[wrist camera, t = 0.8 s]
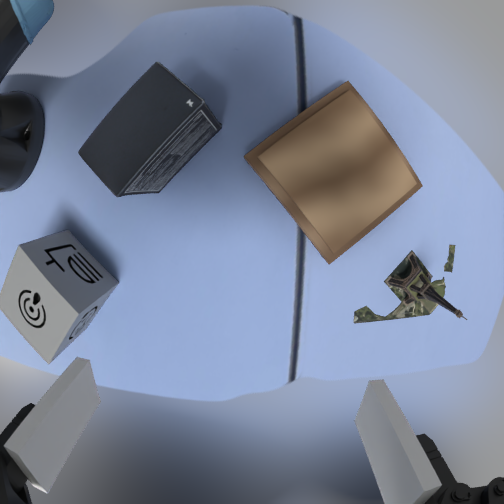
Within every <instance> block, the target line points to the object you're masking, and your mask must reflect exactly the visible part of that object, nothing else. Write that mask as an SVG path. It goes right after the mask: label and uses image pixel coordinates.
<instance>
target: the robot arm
mask: <svg viewBox="0 0 504 504" xmlns="http://www.w3.org/2000/svg"><path fill="white" fill-rule="evenodd" d="M53 11H54V3H53V0H0V83H1V82H2V80H3V79H4V77H5V76H6V74H7V73H8V71H9V70H10V68H11V67H12V66H13V64H14V63H15V62H16V61H17V59H18V58H19V56H20V55H21V54H22V53H23V52H24V50H25V49H26V48H27V46H28V45H29V44H31V43H32V42H33V39H34V37H35V36H36V35H37V34H38V32H39V31H40V30H41V29H42V27H43V26H44V25H45V24H46V23H47V22H48V20H49V19H50V18H51V16H52V14H53ZM43 135H44V116H43V111H42V108H41V105H40V103H39V101H38V100H37V99H36V98H35V97H34V96H33V95H31V94H28V93H25V92H21V91H12V92H8V93H2V94H0V192H7V191H12V190H15V189H17V188H18V187H20V186H21V185H22V184H23V183H24V182H25V181H26V179H27V178H28V177H29V175H30V174H31V172H32V170H33V168H34V166H35V164H36V162H37V160H38V157H39V154H40V150H41V147H42V142H43ZM100 402H101V401H100V397H99V394H98V390H97V387H96V383H95V380H94V376H93V372H92V368H91V364H90V360H87V359H83V358H79V357H77V358H76V359H75V360H74V361H73V362H72V363H71V364H70V365H69V367H68V368H67V369H66V370H65V371H64V372H63V373H62V375H61V376H60V377H59V378H58V379H57V381H56V382H55V383H54V384H53V385H52V386H51V387H50V389H49V390H48V391H47V392H46V394H45V395H44V396H43V397H42V398H41V399H40V401H39V402H38V403H37V404H36V405H34V404H32V403H30V404H29V405H27V406H25V407H23V408H22V409H21V410H20V411H19V413H18V414H17V415H16V417H14V419H13V420H12V422H11V423H9V425H8V426H7V427H6V428H5V429H4V431H3V432H2V434H1V435H0V504H32V502H31V498H30V494H29V491H28V487H27V485H26V481H27V479H28V480H29V481H30V482H31V484H32V485H33V486H34V487H36V488H38V489H40V490H41V491H43V492H45V493H48V492H49V490H50V489H51V487H52V485H53V483H54V481H55V479H56V478H57V476H58V474H59V472H60V470H61V469H62V467H63V465H64V463H65V462H66V460H67V458H68V456H69V454H70V453H71V451H72V449H73V447H74V446H75V444H76V442H77V441H78V439H79V437H80V435H81V434H82V432H83V430H84V429H85V427H86V425H87V424H88V422H89V420H90V419H91V417H92V415H93V414H94V412H95V410H96V409H97V407H98V406H99V404H100ZM355 424H356V426H357V429H358V431H359V434H360V437H361V440H362V442H363V445H364V448H365V450H366V453H367V456H368V458H369V461H370V464H371V466H372V469H373V472H374V475H375V478H376V480H377V483H378V486H379V489H380V492H381V495H382V497H383V500H384V503H385V504H504V478H502V477H498V478H495V479H493V480H492V481H491V482H490V483H489V484H488V485H487V486H482V487H475V488H470V487H469V486H468V485H466V484H464V483H457V481H456V480H455V478H454V477H453V475H452V473H451V471H450V469H449V468H448V466H447V464H446V462H445V461H444V459H443V457H441V454H440V452H439V451H438V450H437V447H436V445H435V443H434V442H433V440H431V439H430V438H429V437H428V436H427V435H425V434H421V435H417V436H416V435H415V434H414V432H413V430H412V428H411V426H410V425H409V423H408V421H407V419H406V418H405V416H404V414H403V412H402V411H401V409H400V407H399V405H398V404H397V402H396V400H395V399H394V397H393V395H392V394H391V392H390V390H389V388H388V387H387V385H386V383H385V382H384V380H372V381H369V382H368V385H367V388H366V391H365V394H364V397H363V400H362V402H361V405H360V408H359V411H358V414H357V416H356V419H355Z"/></svg>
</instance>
